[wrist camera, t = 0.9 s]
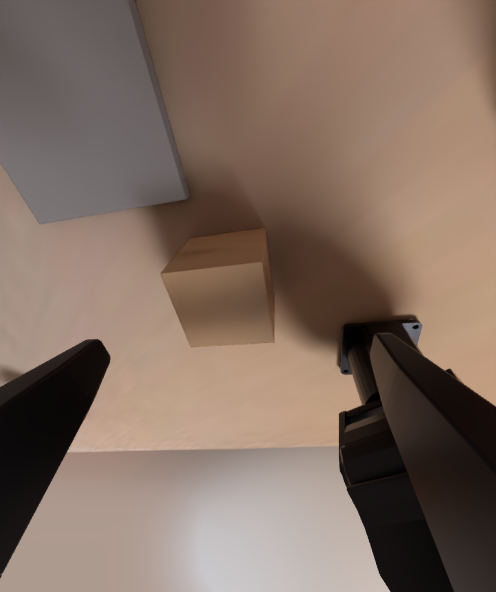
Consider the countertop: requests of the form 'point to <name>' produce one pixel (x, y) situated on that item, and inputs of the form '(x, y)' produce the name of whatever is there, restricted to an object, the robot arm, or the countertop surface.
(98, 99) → the mat
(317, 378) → the countertop surface
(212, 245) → the cube
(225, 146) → the countertop surface
